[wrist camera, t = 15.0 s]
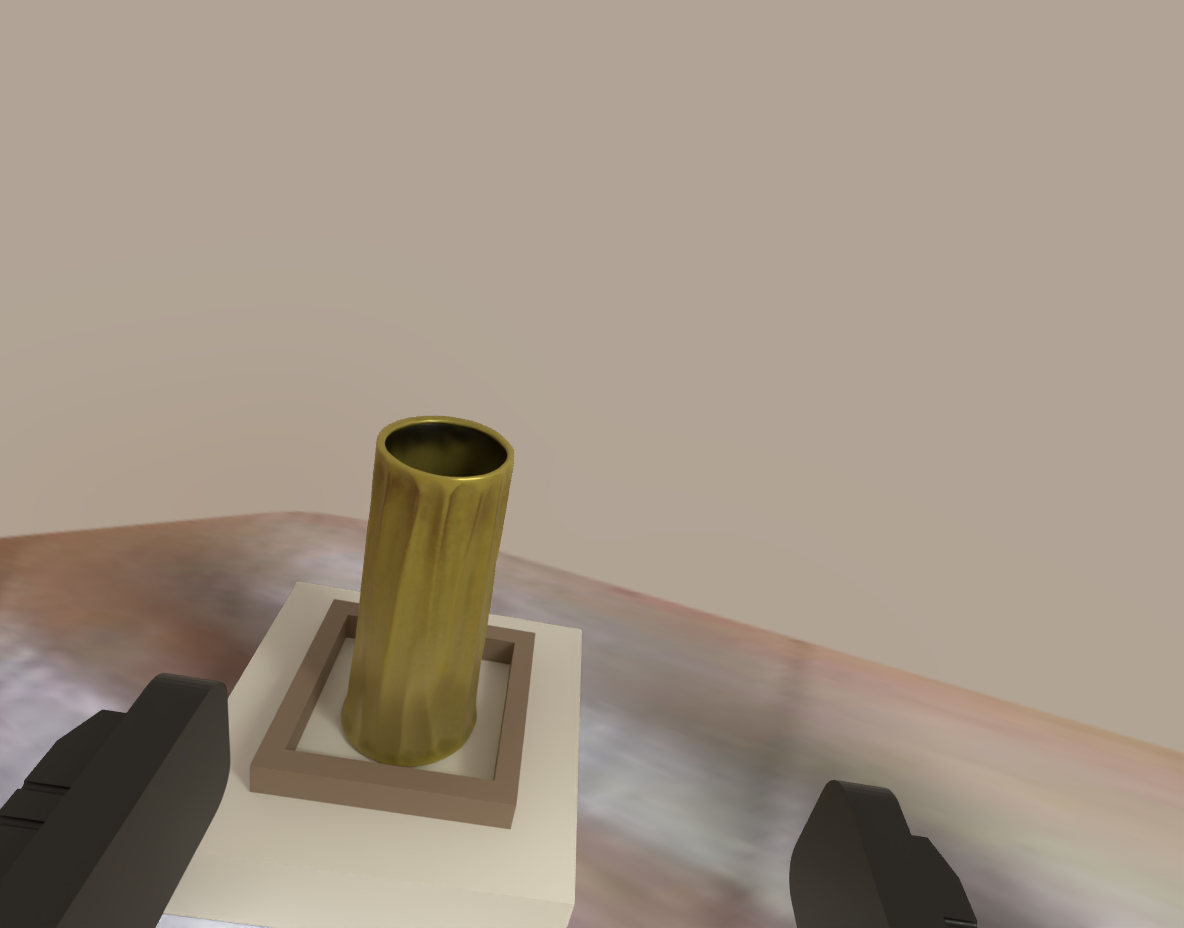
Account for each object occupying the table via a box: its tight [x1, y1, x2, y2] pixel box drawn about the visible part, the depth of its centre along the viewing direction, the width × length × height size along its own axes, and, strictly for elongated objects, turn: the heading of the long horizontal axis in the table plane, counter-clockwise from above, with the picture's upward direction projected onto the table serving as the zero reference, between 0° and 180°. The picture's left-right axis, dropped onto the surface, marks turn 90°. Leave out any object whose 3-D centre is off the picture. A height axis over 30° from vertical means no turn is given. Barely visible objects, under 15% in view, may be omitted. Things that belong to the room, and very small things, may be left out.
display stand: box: [163, 581, 582, 928], centre depth 36 cm, size 16×16×6 cm
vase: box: [341, 416, 514, 767], centre depth 32 cm, size 6×6×14 cm
